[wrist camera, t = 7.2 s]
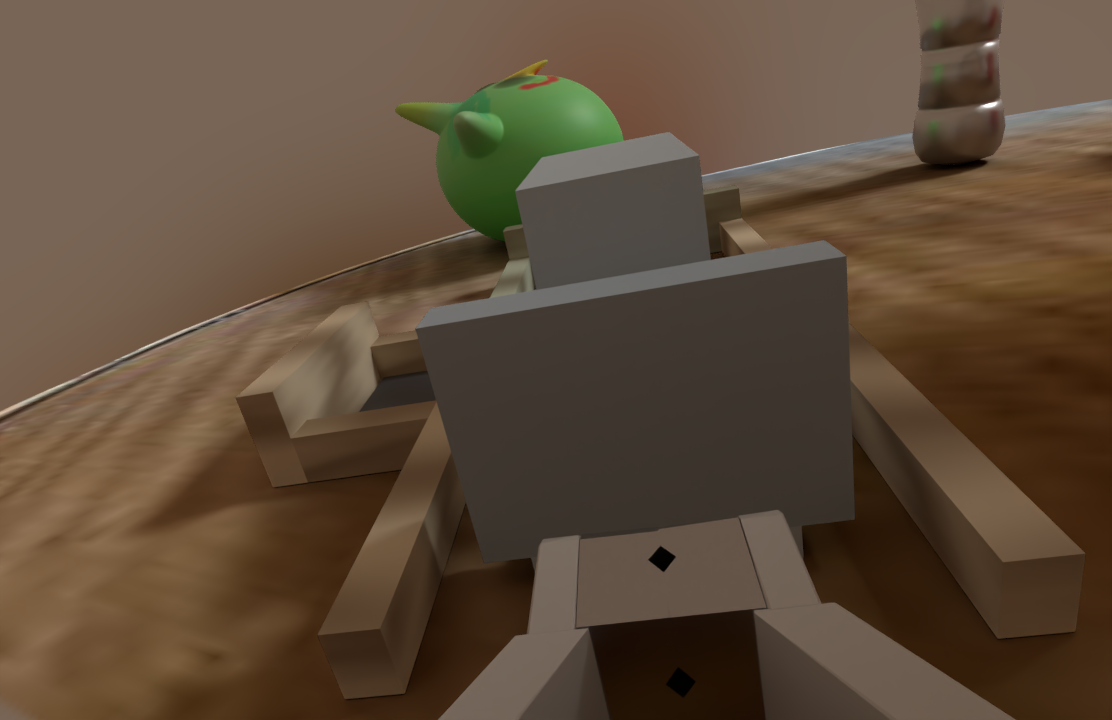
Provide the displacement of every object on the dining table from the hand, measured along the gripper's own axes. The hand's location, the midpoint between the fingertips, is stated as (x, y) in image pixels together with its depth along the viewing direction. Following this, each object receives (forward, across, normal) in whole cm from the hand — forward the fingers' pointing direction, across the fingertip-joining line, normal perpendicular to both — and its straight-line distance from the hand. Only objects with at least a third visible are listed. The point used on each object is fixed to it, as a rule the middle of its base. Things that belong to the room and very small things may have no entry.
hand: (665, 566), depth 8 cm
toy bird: (+53, +8, +7) cm, 54 cm away
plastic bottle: (+54, -29, +7) cm, 61 cm away
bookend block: (+16, 0, +7) cm, 18 cm away
